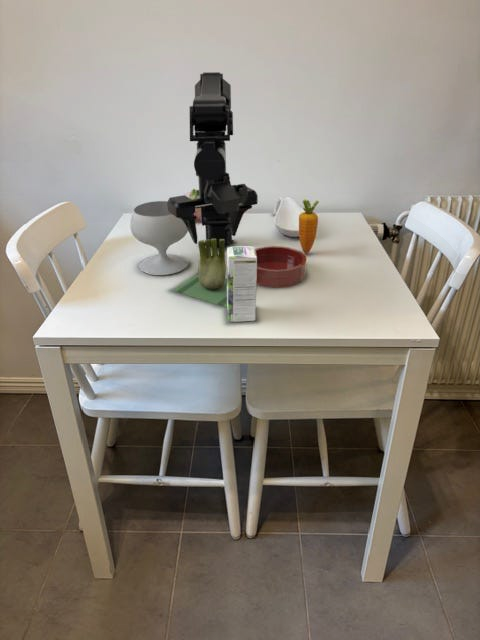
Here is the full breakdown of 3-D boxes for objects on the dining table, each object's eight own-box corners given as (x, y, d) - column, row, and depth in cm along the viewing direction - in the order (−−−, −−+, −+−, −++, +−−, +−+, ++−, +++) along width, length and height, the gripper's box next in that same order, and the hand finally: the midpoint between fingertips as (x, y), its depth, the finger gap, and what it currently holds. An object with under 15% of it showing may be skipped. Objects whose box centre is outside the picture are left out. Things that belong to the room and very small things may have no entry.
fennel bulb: (227, 284, 113) (226, 236, 107) (221, 294, 109) (219, 244, 103) (204, 281, 114) (201, 233, 108) (197, 291, 110) (194, 242, 104)
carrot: (317, 251, 129) (321, 196, 122) (313, 259, 125) (317, 202, 118) (298, 249, 131) (302, 195, 123) (294, 256, 127) (297, 200, 119)
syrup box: (226, 308, 104) (225, 246, 96) (253, 307, 104) (254, 245, 97) (228, 322, 99) (226, 257, 91) (256, 321, 99) (257, 256, 92)
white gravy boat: (319, 240, 136) (321, 215, 133) (279, 243, 135) (280, 218, 131) (297, 212, 156) (298, 190, 153) (261, 215, 155) (261, 193, 151)
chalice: (151, 252, 130) (145, 197, 122) (199, 258, 126) (196, 202, 119) (125, 274, 119) (117, 215, 111) (177, 281, 115) (172, 221, 107)
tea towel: (173, 290, 111) (173, 289, 111) (200, 272, 119) (200, 271, 119) (227, 307, 104) (227, 306, 104) (253, 287, 112) (253, 286, 112)
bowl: (234, 278, 116) (233, 262, 114) (263, 256, 127) (264, 241, 125) (288, 293, 110) (289, 276, 107) (314, 269, 120) (316, 253, 118)
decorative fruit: (181, 216, 155) (179, 185, 149) (207, 214, 155) (205, 183, 150) (181, 226, 147) (179, 193, 141) (208, 225, 147) (207, 192, 142)
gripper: (184, 183, 88) (189, 261, 96) (272, 169, 95) (270, 243, 103) (163, 169, 96) (169, 242, 104) (245, 158, 104) (245, 227, 112)
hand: (214, 239), depth 106 cm, fingers open, 9 cm apart
